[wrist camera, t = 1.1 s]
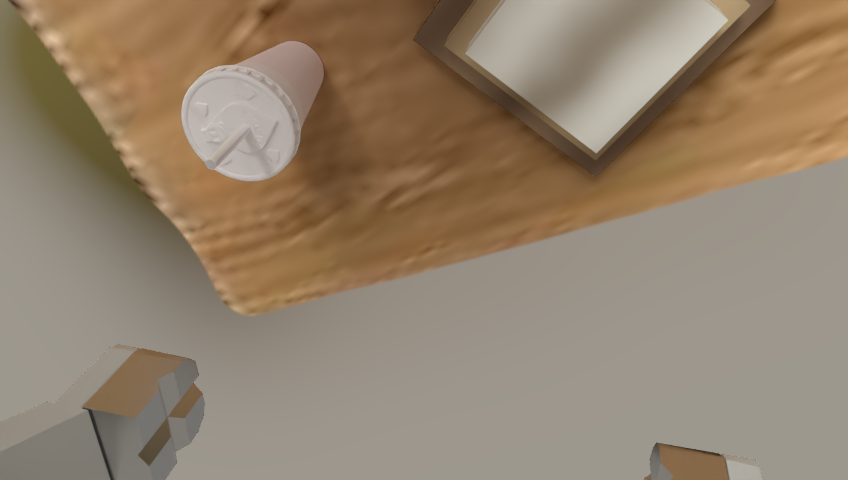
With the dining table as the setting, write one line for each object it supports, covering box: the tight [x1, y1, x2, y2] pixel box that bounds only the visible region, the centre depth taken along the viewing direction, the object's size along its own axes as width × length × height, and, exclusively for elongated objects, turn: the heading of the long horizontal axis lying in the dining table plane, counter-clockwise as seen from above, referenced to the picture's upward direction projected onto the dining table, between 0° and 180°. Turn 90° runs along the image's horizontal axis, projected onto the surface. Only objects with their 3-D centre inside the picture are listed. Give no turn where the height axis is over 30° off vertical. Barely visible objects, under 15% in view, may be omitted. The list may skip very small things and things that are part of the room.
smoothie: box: [181, 41, 324, 181], centre depth 37 cm, size 6×6×14 cm
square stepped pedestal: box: [414, 0, 776, 177], centre depth 36 cm, size 14×14×6 cm
